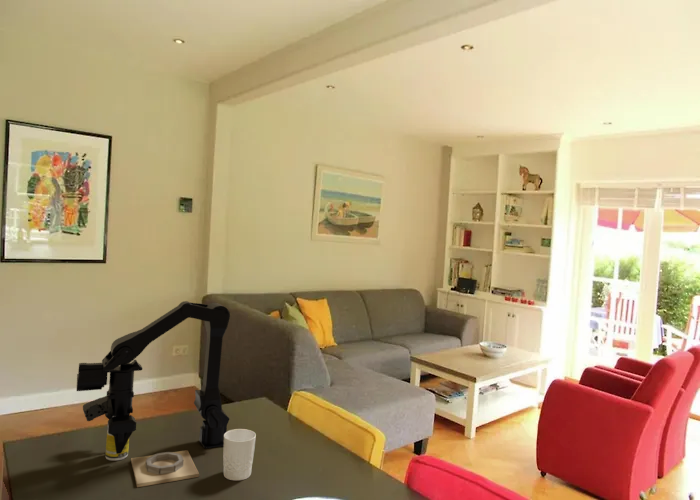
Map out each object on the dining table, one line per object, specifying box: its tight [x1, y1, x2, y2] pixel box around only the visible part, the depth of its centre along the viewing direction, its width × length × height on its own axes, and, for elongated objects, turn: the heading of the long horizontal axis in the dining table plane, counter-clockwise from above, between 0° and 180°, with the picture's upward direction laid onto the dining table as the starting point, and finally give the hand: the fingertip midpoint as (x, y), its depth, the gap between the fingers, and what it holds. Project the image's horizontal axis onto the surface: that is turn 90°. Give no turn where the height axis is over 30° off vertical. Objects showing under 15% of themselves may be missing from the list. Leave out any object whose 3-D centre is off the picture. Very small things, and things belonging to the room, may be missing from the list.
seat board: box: [130, 449, 200, 488], centre depth 124 cm, size 14×14×2 cm
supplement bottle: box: [104, 429, 130, 462], centre depth 128 cm, size 5×5×10 cm
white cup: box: [222, 428, 257, 481], centre depth 124 cm, size 8×8×10 cm
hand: (117, 446), depth 128 cm, fingers open, 8 cm apart
